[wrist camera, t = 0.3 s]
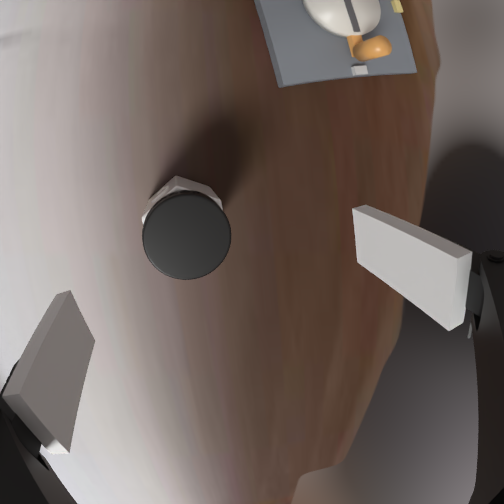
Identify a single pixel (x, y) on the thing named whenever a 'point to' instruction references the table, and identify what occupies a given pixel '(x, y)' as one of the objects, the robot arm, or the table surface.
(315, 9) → the dial
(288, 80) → the panel
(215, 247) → the jar
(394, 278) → the robot arm
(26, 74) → the table surface
